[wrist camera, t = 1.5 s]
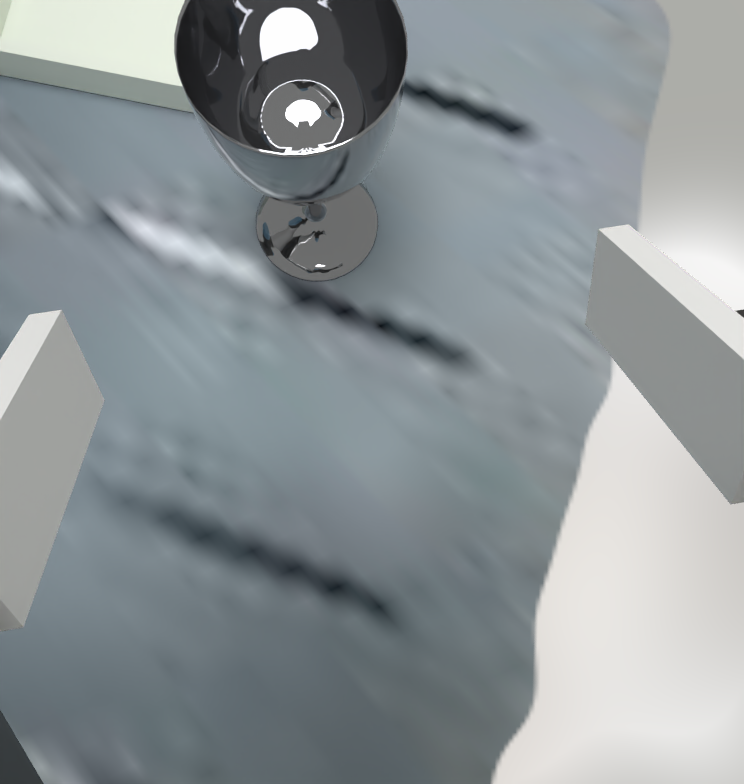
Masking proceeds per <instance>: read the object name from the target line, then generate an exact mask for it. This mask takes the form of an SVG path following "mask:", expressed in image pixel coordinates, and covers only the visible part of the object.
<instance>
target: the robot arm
mask: <svg viewBox="0 0 744 784" xmlns="http://www.w3.org/2000/svg"><path fill="white" fill-rule="evenodd" d="M585 325H586V326H587V327H588V328H589V330H590V331H591V332H592V333H593V335H594V336H595V337H596V338H597V340H598V341H599V342H600V343H601V345H602V346H603V347H604V348H605V349H606V351H607V352H608V353H609V354H610V356H611V357H612V358H613V359H614V361H615V362H616V363H617V364H618V366H619V367H620V368H621V369H622V370H623V372H624V373H625V374H626V375H627V377H628V378H629V379H630V380H631V382H632V383H633V384H634V385H635V387H636V388H637V389H638V390H639V391H640V393H641V394H642V395H643V396H644V398H645V399H646V400H647V401H648V403H649V404H650V405H651V406H652V407H653V409H654V410H655V411H656V413H657V414H658V415H659V416H660V418H661V419H662V420H663V421H664V422H665V424H666V425H667V426H668V427H669V429H670V430H671V431H672V432H673V434H674V435H675V436H676V437H677V439H678V440H679V441H680V442H681V443H682V445H683V446H684V447H685V448H686V449H687V451H688V452H689V453H690V454H691V456H692V457H693V458H694V459H695V461H696V462H697V463H698V465H699V466H700V467H701V468H702V469H703V471H704V472H705V473H706V474H707V476H708V477H709V478H710V479H711V481H712V482H713V483H714V484H715V485H716V487H717V488H718V489H719V491H721V493H722V494H723V495H724V497H725V498H726V499H727V500H728V502H729V503H730V504H736V503H741V502H744V310H738V311H735V310H733V309H732V308H731V307H730V306H728V305H727V304H726V303H725V302H724V301H722V300H721V299H720V298H719V297H717V296H716V295H715V294H714V293H712V292H711V291H710V290H709V289H707V288H706V287H705V286H704V285H703V284H701V283H700V282H699V281H698V280H696V279H695V278H694V277H693V276H691V275H690V274H689V273H688V272H686V271H685V270H684V269H683V268H682V267H680V266H679V265H678V264H677V263H675V262H674V261H673V260H672V259H670V258H669V257H668V256H667V255H665V254H664V253H663V252H661V251H660V250H659V249H658V248H656V247H655V246H654V245H653V244H652V243H651V242H649V241H648V240H647V239H646V238H644V237H643V236H642V235H641V234H639V233H638V232H637V231H636V230H635V229H633V228H632V227H631V226H630V225H622V226H615V227H609V228H602V229H598V236H597V243H596V250H595V257H594V265H593V272H592V279H591V286H590V294H589V301H588V308H587V315H586V322H585ZM103 403H104V398H103V396H102V394H101V392H100V390H99V387H98V385H97V383H96V381H95V379H94V377H93V375H92V373H91V371H90V368H89V366H88V364H87V362H86V360H85V358H84V356H83V354H82V352H81V349H80V347H79V345H78V343H77V341H76V339H75V337H74V335H73V333H72V330H71V328H70V326H69V324H68V322H67V320H66V318H65V316H64V314H63V312H62V310H57V311H51V312H44V313H37V314H31V315H29V316H28V317H27V319H26V320H25V322H24V323H23V325H22V327H21V328H20V330H19V331H18V333H17V334H16V336H15V338H14V339H13V341H12V342H11V344H10V345H9V347H8V349H7V350H6V352H5V353H4V355H3V356H2V358H1V360H0V631H6V630H11V629H17V628H23V627H24V625H25V622H26V619H27V616H28V613H29V611H30V608H31V605H32V602H33V599H34V597H35V594H36V591H37V588H38V585H39V583H40V580H41V577H42V574H43V571H44V569H45V566H46V563H47V560H48V557H49V555H50V552H51V549H52V546H53V543H54V541H55V538H56V535H57V532H58V529H59V527H60V524H61V521H62V518H63V515H64V513H65V510H66V507H67V504H68V501H69V499H70V496H71V493H72V490H73V487H74V485H75V482H76V479H77V476H78V473H79V471H80V468H81V465H82V462H83V459H84V457H85V454H86V451H87V448H88V445H89V442H90V440H91V437H92V434H93V431H94V428H95V426H96V423H97V420H98V417H99V414H100V412H101V409H102V406H103ZM0 784H43V782H42V780H41V779H40V777H39V775H38V774H37V772H36V770H35V768H34V767H33V765H32V763H31V762H30V760H29V758H28V756H27V755H26V753H25V751H24V750H23V748H22V746H21V745H20V743H19V741H18V739H17V738H16V736H15V734H14V733H13V731H12V729H11V728H10V726H9V724H8V722H7V721H6V719H5V717H4V716H3V714H2V712H1V711H0Z"/></svg>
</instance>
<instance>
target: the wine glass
mask: <svg viewBox="0 0 744 784" xmlns="http://www.w3.org/2000/svg"><path fill="white" fill-rule="evenodd" d="M174 55H175V61H176V67H177V72H178V75H179V78H180V81H181V84H182V86H183V89H184V91H185V94H186V97H187V99H188V101H189V104H190V106H191V108H192V110H193V113H194V115H195V117H196V118H197V120H198V122H199V124H200V126H201V128H202V130H203V131H204V133H205V135H206V136H207V138H208V140H209V141H210V143H211V145H212V146H213V148H214V149H215V150H216V152H217V153H218V154H219V155H220V157H221V158H222V159H223V161H224V162H225V163H226V164H227V165H228V166H229V167H230V168H231V170H232V171H233V172H234V173H235V174H236V175H237V176H238V177H240V178H241V179H242V180H243V181H244V182H245V183H246V184H248V185H249V186H250V187H252V188H253V189H254V190H256V191H257V192H259V193H261V194H263V197H262V198H261V201H260V204H259V206H258V210H257V215H256V230H257V236H258V240H259V242H260V245H261V247H262V249H263V251H264V253H265V254H266V256H267V257H268V258H269V259H270V261H271V262H272V263H273V264H274V265H275V266H276V267H278V268H279V269H280V270H282V271H283V272H285V273H287V274H289V275H290V276H293V277H296V278H299V279H302V280H308V281H327V280H332V279H336V278H338V277H341V276H344V275H346V274H347V273H349V272H351V271H353V270H354V269H355V268H356V267H357V266H359V265H360V264H361V263H362V262H363V261H364V259H365V258H366V257H367V256H368V254H369V252H370V251H371V249H372V247H373V245H374V242H375V239H376V236H377V229H378V216H377V211H376V207H375V204H374V202H373V199H372V197H371V196H370V194H369V192H368V191H367V189H366V188H365V187H364V186H363V185H362V184H361V182H362V181H363V180H364V179H365V178H366V177H367V176H368V174H369V173H370V172H371V171H372V170H373V168H374V167H375V165H376V163H377V162H378V160H379V158H380V157H381V155H382V153H383V152H384V150H385V148H386V146H387V144H388V141H389V139H390V136H391V134H392V131H393V129H394V126H395V123H396V120H397V117H398V114H399V109H400V104H401V100H402V95H403V88H404V82H405V75H406V67H407V57H408V50H407V33H406V28H405V24H404V19H403V16H402V13H401V11H400V9H399V6H398V4H397V2H396V0H185V1H184V4H183V6H182V8H181V11H180V13H179V16H178V20H177V25H176V29H175V34H174Z"/></svg>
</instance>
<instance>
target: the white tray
mask: <svg viewBox="0 0 744 784" xmlns="http://www.w3.org/2000/svg"><path fill="white" fill-rule="evenodd" d="M184 1H185V0H0V75H3V76H8V77H13V78H18V79H23V80H28V81H34V82H39V83H44V84H49V85H54V86H59V87H64V88H69V89H74V90H80V91H85V92H90V93H95V94H100V95H105V96H110V97H115V98H120V99H125V100H131V101H136V102H141V103H146V104H151V105H156V106H161V107H166V108H171V109H177V110H182V111H187V112H192V113H193V110H192V108H191V106H190V104H189V101H188V99H187V97H186V94H185V91H184V89H183V86H182V84H181V81H180V78H179V75H178V72H177V67H176V61H175V55H174V34H175V29H176V25H177V20H178V16H179V13H180V11H181V8H182V6H183V4H184Z"/></svg>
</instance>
